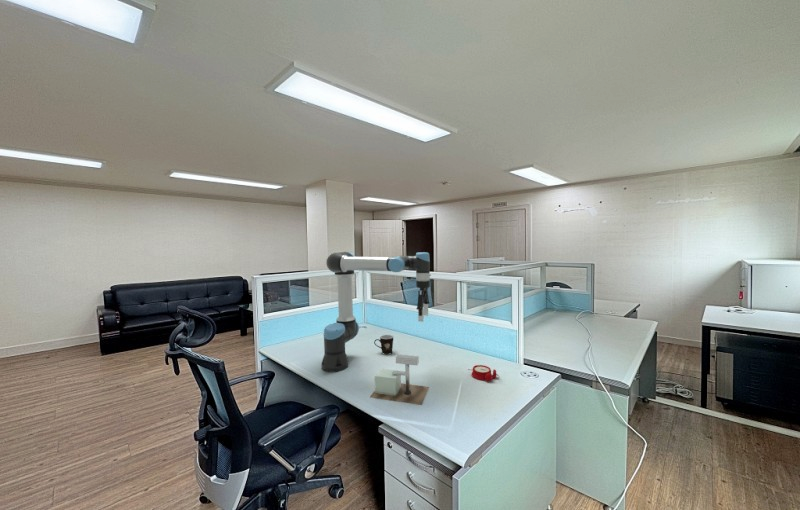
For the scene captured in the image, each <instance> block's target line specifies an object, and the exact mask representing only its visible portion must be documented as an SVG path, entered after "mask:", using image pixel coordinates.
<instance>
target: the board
mask: <svg viewBox="0 0 800 510" xmlns="http://www.w3.org/2000/svg"><path fill="white" fill-rule="evenodd" d="M429 389H430V386H425V385H417V384H410V392H406V383H404V382H403V383H401V388H400V390H399V391H398V393H397V395H396V396H393V395H386V394H379V393H375V390H374V391H373V392H372V393H371V395H370V396H369V398H370V399H371V398H372V399H377V400H378V399H379V400H385V401H390V402H391V401H393V402H397V403H398V402H399V403H405V404H412V405H419V406H422V405H423V403H424V401H425V398H426V395H427V394H428V391H429Z"/></svg>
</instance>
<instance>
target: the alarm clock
mask: <svg viewBox="0 0 800 510" xmlns="http://www.w3.org/2000/svg"><path fill="white" fill-rule="evenodd" d="M467 370H468V371H471V369H470V368H468V369H467ZM497 376H498V377H497ZM471 377H472V378H474V379H475V380H479V381H485V382H486V383H487V382H488V383H489V381H490V382H492V380H498V379H499V378H500V376H499V374H497V370H496V369H493V370H492V369H491V367H489V366H487V365H484V364H483V365H482V364H477V365H476V364H475V365H474V366H473V367H472V372H471Z"/></svg>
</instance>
